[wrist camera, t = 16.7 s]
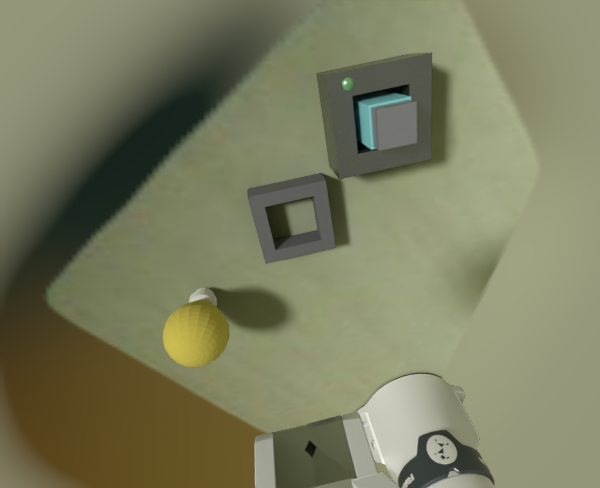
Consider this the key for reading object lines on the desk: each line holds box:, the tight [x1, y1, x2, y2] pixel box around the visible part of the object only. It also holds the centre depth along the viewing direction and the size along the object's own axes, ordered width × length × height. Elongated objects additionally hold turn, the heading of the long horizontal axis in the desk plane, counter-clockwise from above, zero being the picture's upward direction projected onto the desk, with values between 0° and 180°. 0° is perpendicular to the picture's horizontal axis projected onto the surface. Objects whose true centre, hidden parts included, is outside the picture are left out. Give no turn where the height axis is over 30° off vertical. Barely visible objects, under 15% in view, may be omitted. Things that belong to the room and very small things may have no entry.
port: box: [317, 53, 432, 179], centre depth 32 cm, size 9×9×5 cm
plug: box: [352, 91, 417, 151], centre depth 31 cm, size 4×4×8 cm
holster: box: [248, 173, 336, 264], centre depth 37 cm, size 8×8×2 cm
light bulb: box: [163, 288, 229, 367], centre depth 37 cm, size 7×7×10 cm
